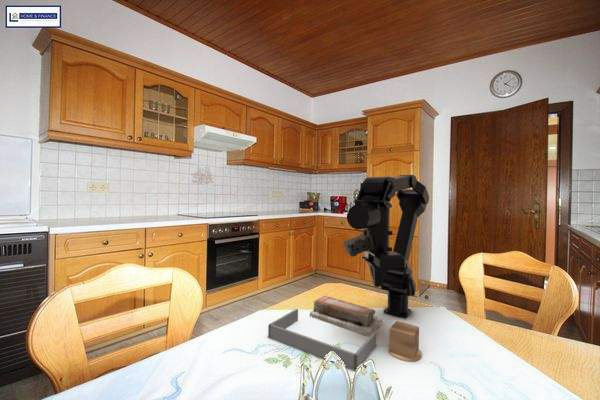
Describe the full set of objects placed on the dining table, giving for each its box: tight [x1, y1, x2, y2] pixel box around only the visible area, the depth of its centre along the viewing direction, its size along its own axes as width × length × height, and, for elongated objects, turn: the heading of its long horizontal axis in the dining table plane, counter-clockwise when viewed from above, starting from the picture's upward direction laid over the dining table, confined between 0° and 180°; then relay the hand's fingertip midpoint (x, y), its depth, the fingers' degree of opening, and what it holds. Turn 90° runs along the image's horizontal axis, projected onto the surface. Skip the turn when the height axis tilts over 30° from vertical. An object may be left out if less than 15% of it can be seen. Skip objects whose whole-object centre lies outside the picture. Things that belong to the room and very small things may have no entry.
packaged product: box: [309, 295, 384, 337], centre depth 77 cm, size 18×5×10 cm
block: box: [388, 320, 420, 360], centre depth 61 cm, size 5×5×5 cm
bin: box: [267, 308, 378, 372], centre depth 65 cm, size 12×22×3 cm, turn 56°
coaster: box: [387, 344, 423, 362], centre depth 61 cm, size 7×7×1 cm
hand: (376, 286), depth 72 cm, fingers closed
